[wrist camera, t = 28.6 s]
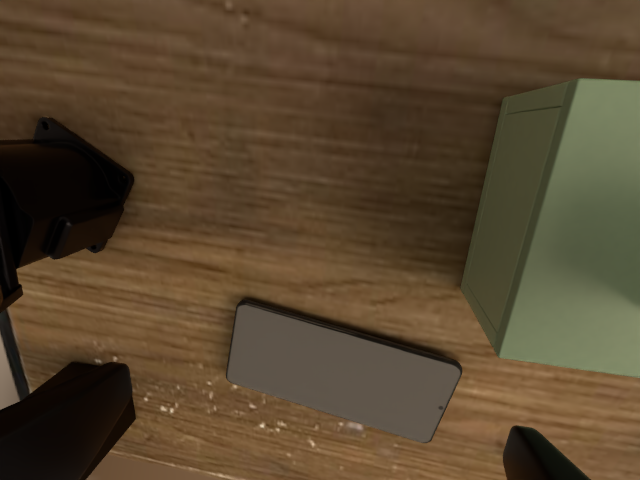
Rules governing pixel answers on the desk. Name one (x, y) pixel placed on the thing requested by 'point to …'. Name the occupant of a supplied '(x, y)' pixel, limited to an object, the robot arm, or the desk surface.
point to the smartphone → (340, 371)
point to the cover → (583, 240)
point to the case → (509, 200)
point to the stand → (119, 427)
